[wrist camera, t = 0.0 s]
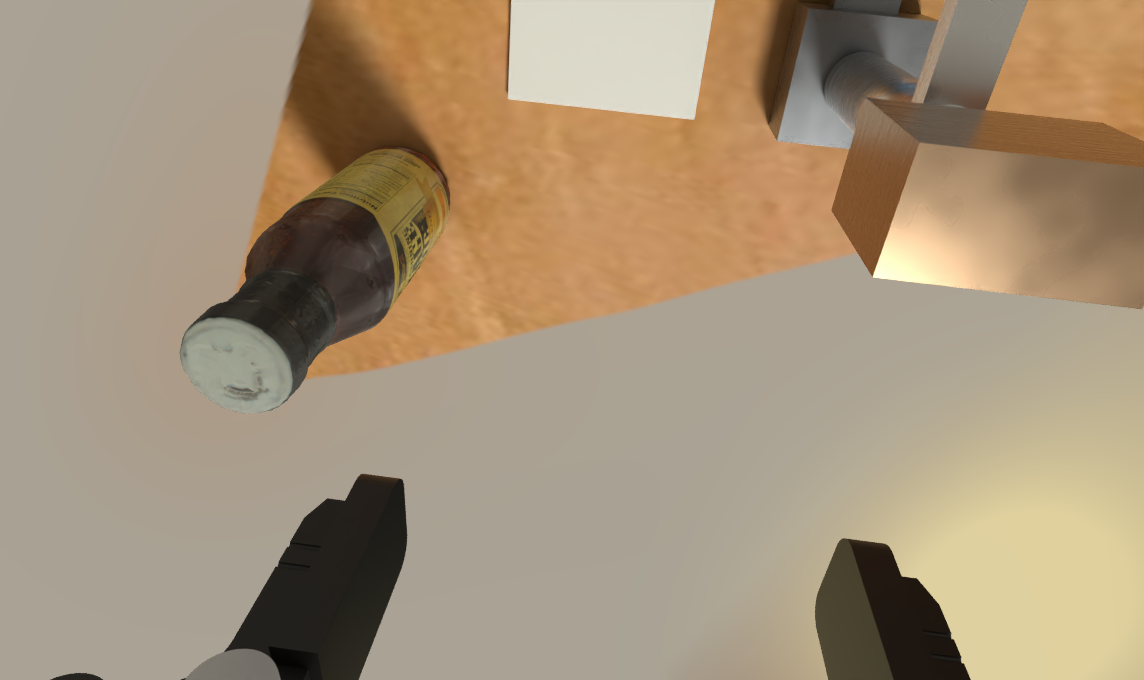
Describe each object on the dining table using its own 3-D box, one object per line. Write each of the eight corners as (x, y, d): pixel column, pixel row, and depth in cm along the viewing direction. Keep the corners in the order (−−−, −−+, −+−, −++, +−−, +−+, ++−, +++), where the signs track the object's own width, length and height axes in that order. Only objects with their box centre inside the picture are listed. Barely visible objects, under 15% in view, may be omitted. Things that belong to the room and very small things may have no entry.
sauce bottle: (426, 260, 43) (281, 478, 26) (336, 204, 42) (121, 396, 25) (477, 176, 40) (350, 363, 23) (382, 112, 39) (171, 262, 22)
